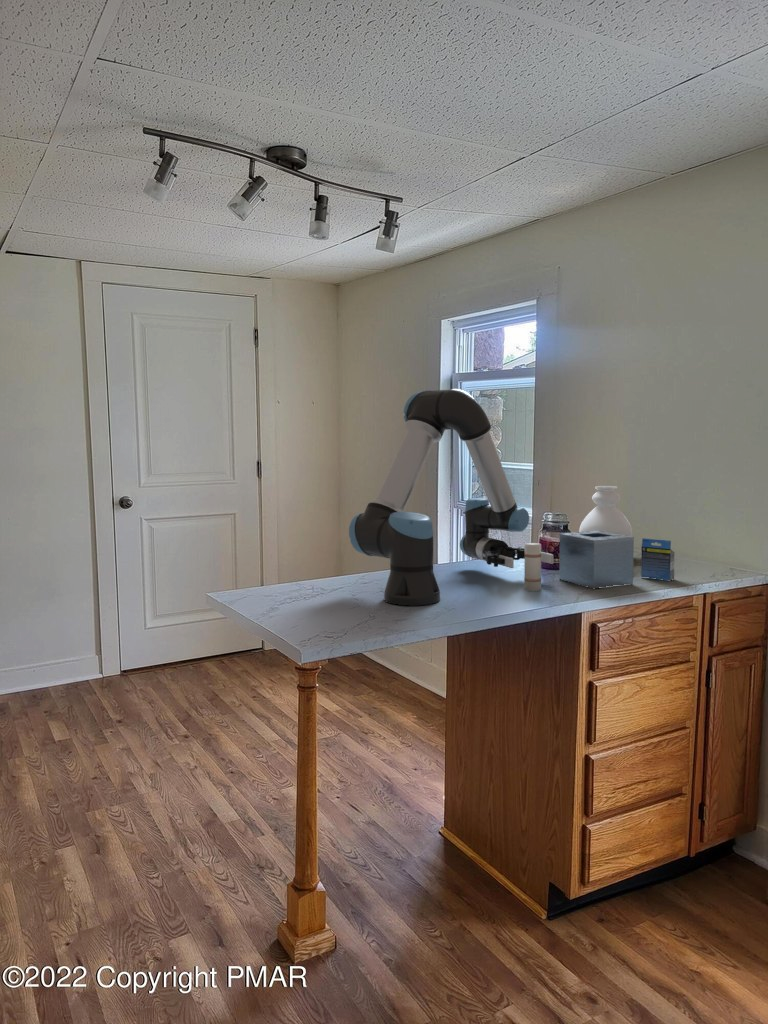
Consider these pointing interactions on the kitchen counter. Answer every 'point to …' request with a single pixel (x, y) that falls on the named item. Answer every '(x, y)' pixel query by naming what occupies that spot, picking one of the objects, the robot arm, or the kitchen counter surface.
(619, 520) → the decorative vase
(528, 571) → the coin roll
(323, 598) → the kitchen counter surface
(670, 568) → the label tape box
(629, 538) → the grey box with opening
